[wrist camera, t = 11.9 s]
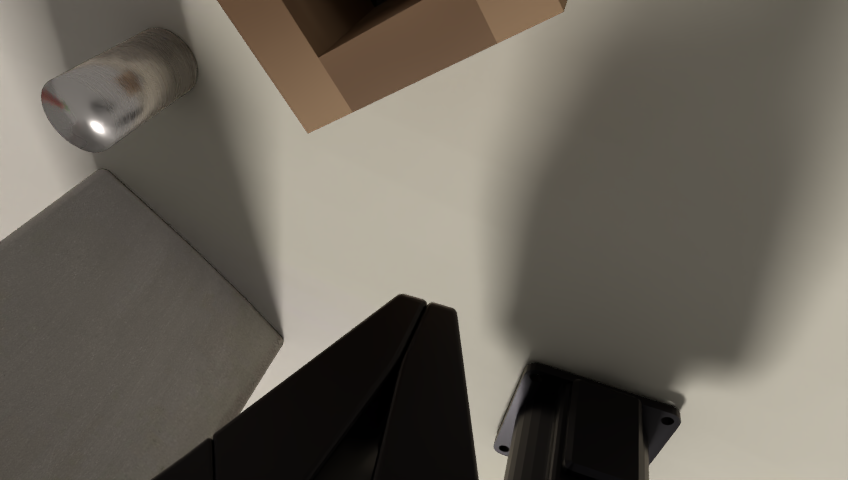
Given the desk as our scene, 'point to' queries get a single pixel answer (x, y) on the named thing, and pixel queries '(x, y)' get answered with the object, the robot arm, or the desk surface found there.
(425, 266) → the desk surface
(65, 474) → the grey pentagonal slab
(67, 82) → the stand rod
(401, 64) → the collar
